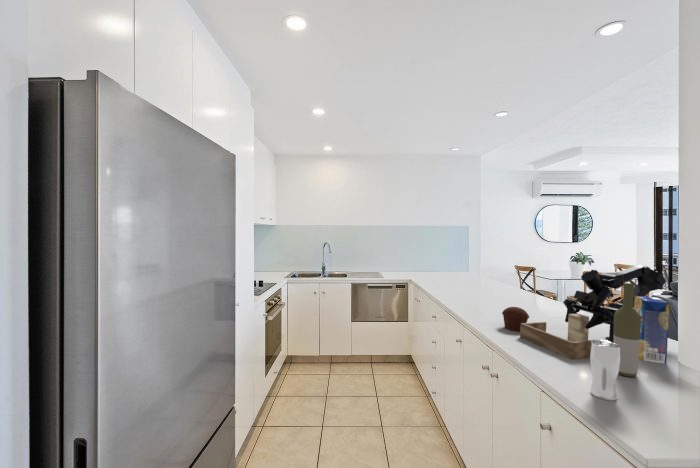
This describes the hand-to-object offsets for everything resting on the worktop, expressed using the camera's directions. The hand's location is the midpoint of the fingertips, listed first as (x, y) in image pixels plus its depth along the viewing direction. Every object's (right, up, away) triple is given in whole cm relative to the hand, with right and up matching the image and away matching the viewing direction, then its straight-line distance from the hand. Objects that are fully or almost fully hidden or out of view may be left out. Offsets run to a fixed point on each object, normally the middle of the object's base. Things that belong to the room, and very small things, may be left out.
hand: (575, 324), depth 139 cm
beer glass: (-21, -9, -43) cm, 48 cm away
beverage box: (+19, -9, -12) cm, 25 cm away
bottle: (-2, -9, -28) cm, 29 cm away
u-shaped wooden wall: (-9, -8, -2) cm, 13 cm away
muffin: (-15, -7, +20) cm, 26 cm away
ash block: (+1, -8, +1) cm, 8 cm away
